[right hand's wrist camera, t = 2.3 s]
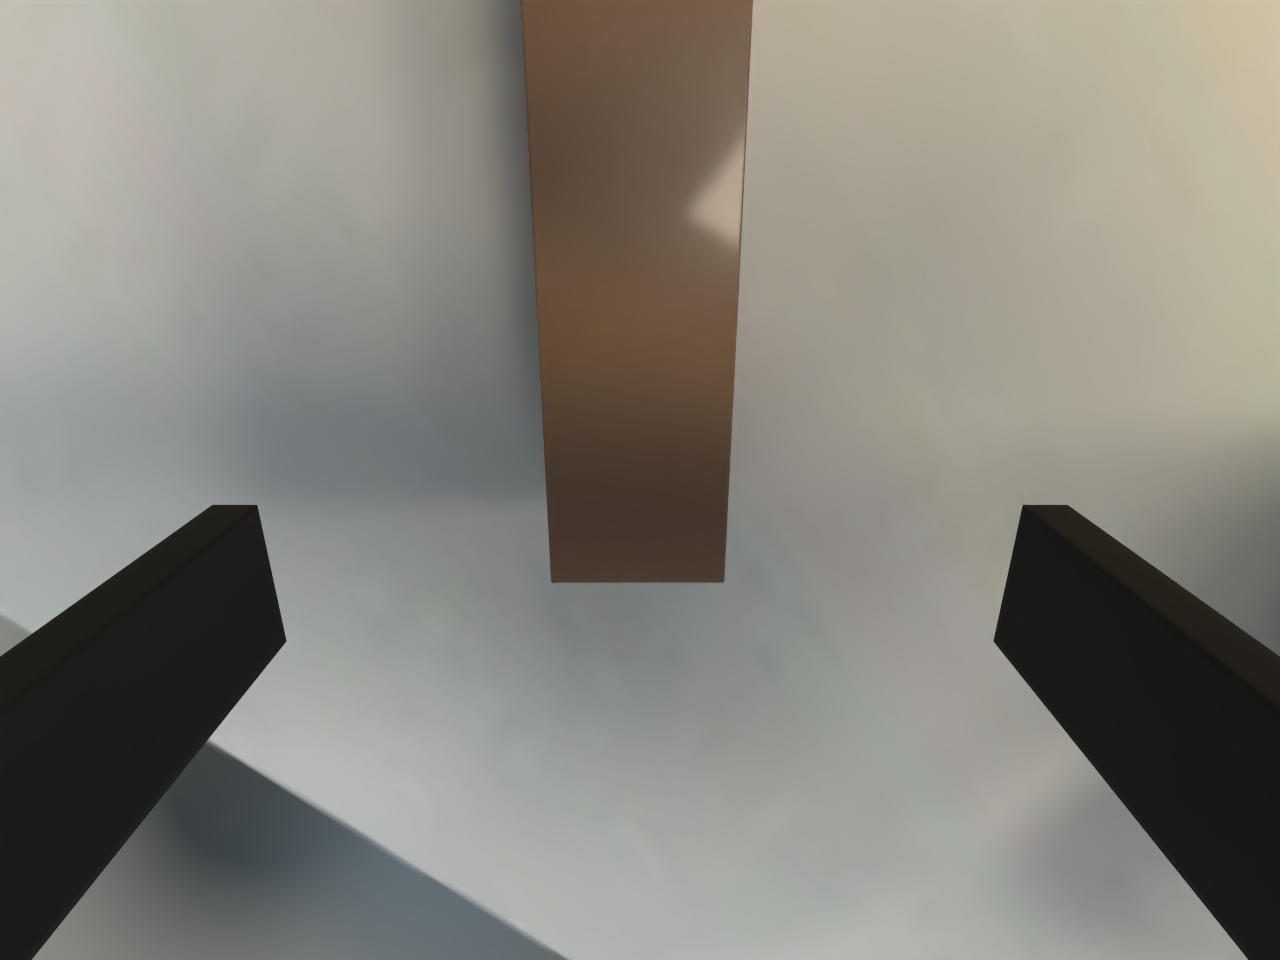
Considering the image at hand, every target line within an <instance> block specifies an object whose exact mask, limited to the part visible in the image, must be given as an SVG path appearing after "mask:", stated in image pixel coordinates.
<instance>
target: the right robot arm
mask: <svg viewBox="0 0 1280 960" xmlns="http://www.w3.org/2000/svg"><path fill="white" fill-rule="evenodd" d="M285 642H286V637H285V632H284V628H283V623H282V618H281V614H280V609H279V604H278V600H277V595H276V590H275V586H274V581H273V576H272V572H271V567H270V562H269V558H268V553H267V548H266V544H265V539H264V534H263V530H262V525H261V520H260V516H259V511H258V507H257V505H212V506H210V507H209V508H208V509H206V510H205V511H203V512H202V513H201V514H199V515H198V516H196V517H195V518H194V519H192V520H191V521H189V522H188V523H187V524H185V525H184V526H182V527H181V528H180V529H178V530H177V531H175V532H174V533H173V534H171V535H170V536H168V537H167V538H166V539H164V540H163V541H161V542H160V543H159V544H157V545H156V546H154V547H153V548H152V549H150V550H149V551H147V552H146V553H145V554H143V555H142V556H140V557H139V558H138V559H136V560H135V561H133V562H132V563H131V564H129V565H128V566H126V567H125V568H124V569H122V570H121V571H119V572H118V573H117V574H115V575H114V576H112V577H111V578H110V579H108V580H107V581H105V582H104V583H103V584H101V585H100V586H98V587H97V588H96V589H94V590H93V591H91V592H90V593H89V594H87V595H86V596H84V597H83V598H82V599H80V600H79V601H77V602H76V603H75V604H73V605H72V606H70V607H69V608H68V609H66V610H65V611H63V612H62V613H61V614H59V615H58V616H56V617H55V618H54V619H52V620H51V621H49V622H48V623H47V624H45V625H44V626H42V627H41V628H40V629H38V630H37V631H35V632H34V633H33V634H31V635H30V636H28V637H27V638H26V639H24V640H23V641H21V642H20V643H19V644H17V645H16V646H14V647H13V648H12V649H10V650H9V651H7V652H6V653H5V654H3V655H2V656H1V657H0V960H32V959H33V957H34V956H35V955H36V953H37V952H38V951H39V950H40V948H41V947H42V946H43V945H44V944H45V942H46V941H47V940H48V939H49V937H50V936H51V935H52V934H53V932H54V931H55V930H56V929H57V927H58V926H59V925H60V924H61V922H62V921H63V920H64V919H65V917H66V916H67V915H68V914H69V912H70V911H71V910H72V909H73V907H74V906H75V905H76V904H77V902H78V901H79V900H80V899H81V897H82V896H83V895H84V893H85V892H86V891H87V890H88V889H89V887H90V886H91V885H92V883H93V882H94V881H95V880H96V879H97V877H98V876H99V875H100V874H101V872H102V871H103V870H104V868H105V867H106V866H107V865H108V864H109V862H110V861H111V860H112V858H113V857H114V856H115V855H116V854H117V852H118V851H119V850H120V849H121V847H122V846H123V845H124V844H125V842H126V841H127V840H128V839H129V837H130V836H131V835H132V834H133V832H134V831H135V830H136V829H137V827H138V826H139V825H140V824H141V822H142V821H143V820H144V819H145V817H146V816H147V815H148V814H149V812H150V811H151V810H152V809H153V807H154V806H155V805H156V804H157V802H158V801H159V800H160V799H161V797H162V796H163V795H164V794H165V792H166V791H167V790H168V789H169V787H170V786H171V785H172V784H173V782H174V781H175V780H176V779H177V777H178V776H179V775H180V774H181V772H182V771H183V770H184V769H185V767H186V766H187V765H188V764H189V762H190V761H191V760H192V759H193V757H194V756H195V755H196V754H197V752H198V751H199V750H200V749H201V747H202V746H203V745H204V744H205V742H206V741H207V740H208V739H209V737H210V736H211V735H212V734H213V732H214V731H215V730H216V729H217V727H218V726H219V725H220V724H221V722H222V721H223V720H224V719H225V717H226V716H227V715H228V714H229V712H230V711H231V710H232V709H233V707H234V706H235V705H236V704H237V702H238V701H239V700H240V699H241V697H242V696H243V695H244V694H245V692H246V691H247V690H248V689H249V687H250V686H251V685H252V684H253V682H254V681H255V680H256V679H257V677H258V676H259V675H260V674H261V672H262V671H263V670H264V669H265V667H266V666H267V665H268V664H269V662H270V661H271V660H272V659H273V657H274V656H275V655H276V654H277V652H278V651H279V650H280V649H281V647H282V646H283V645H284V644H285ZM994 642H995V644H996V645H997V646H998V647H999V649H1000V650H1001V651H1002V652H1003V654H1004V655H1005V656H1006V657H1007V659H1008V660H1009V661H1010V662H1011V664H1012V665H1013V666H1014V667H1015V669H1016V670H1017V671H1018V672H1019V674H1020V675H1021V676H1022V677H1023V679H1024V680H1025V681H1026V682H1027V684H1028V685H1029V686H1030V687H1031V689H1032V690H1033V691H1034V692H1035V694H1036V695H1037V696H1038V697H1039V699H1040V700H1041V701H1042V702H1043V704H1044V705H1045V706H1046V707H1047V709H1048V710H1049V711H1050V712H1051V714H1052V715H1053V716H1054V717H1055V719H1056V720H1057V721H1058V722H1059V724H1060V725H1061V726H1062V727H1063V729H1064V730H1065V731H1066V732H1067V734H1068V735H1069V736H1070V737H1071V739H1072V740H1073V741H1074V742H1075V744H1076V745H1077V746H1078V747H1079V749H1080V750H1081V751H1082V752H1083V754H1084V755H1085V756H1086V757H1087V759H1088V760H1089V761H1090V762H1091V764H1092V765H1093V766H1094V767H1095V769H1096V770H1097V771H1098V772H1099V774H1100V775H1101V776H1102V777H1103V779H1104V780H1105V781H1106V782H1107V784H1108V785H1109V786H1110V787H1111V789H1112V790H1113V791H1114V792H1115V794H1116V795H1117V796H1118V797H1119V799H1120V800H1121V801H1122V802H1123V804H1124V805H1125V806H1126V807H1127V809H1128V810H1129V811H1130V812H1131V814H1132V815H1133V816H1134V817H1135V819H1136V820H1137V821H1138V822H1139V824H1140V825H1141V826H1142V827H1143V829H1144V830H1145V831H1146V832H1147V834H1148V835H1149V836H1150V837H1151V839H1152V840H1153V841H1154V842H1155V844H1156V845H1157V846H1158V847H1159V849H1160V850H1161V851H1162V852H1163V854H1164V855H1165V856H1166V857H1167V859H1168V860H1169V861H1170V862H1171V864H1172V865H1173V866H1174V867H1175V869H1176V870H1177V871H1178V872H1179V874H1180V875H1181V876H1182V877H1183V879H1184V880H1185V881H1186V882H1187V884H1188V885H1189V886H1190V887H1191V889H1192V890H1193V891H1194V892H1195V894H1196V895H1197V896H1198V897H1199V899H1200V900H1201V901H1202V902H1203V904H1204V905H1205V906H1206V907H1207V909H1208V910H1209V911H1210V912H1211V914H1212V915H1213V916H1214V917H1215V919H1216V920H1217V921H1218V922H1219V924H1220V925H1221V926H1222V927H1223V929H1224V930H1225V931H1226V932H1227V934H1228V935H1229V936H1230V937H1231V939H1232V940H1233V941H1234V942H1235V944H1236V945H1237V946H1238V947H1239V949H1240V950H1241V951H1242V952H1243V954H1244V955H1245V956H1246V957H1247V959H1248V960H1280V656H1278V655H1277V654H1275V653H1274V652H1273V651H1271V650H1270V649H1268V648H1267V647H1266V646H1264V645H1263V644H1261V643H1260V642H1259V641H1257V640H1256V639H1254V638H1253V637H1252V636H1250V635H1249V634H1247V633H1246V632H1245V631H1243V630H1242V629H1240V628H1239V627H1238V626H1236V625H1235V624H1233V623H1232V622H1231V621H1229V620H1228V619H1226V618H1225V617H1224V616H1222V615H1221V614H1219V613H1218V612H1217V611H1215V610H1214V609H1212V608H1211V607H1210V606H1208V605H1207V604H1205V603H1204V602H1203V601H1201V600H1200V599H1198V598H1197V597H1196V596H1194V595H1193V594H1191V593H1190V592H1189V591H1187V590H1186V589H1184V588H1183V587H1182V586H1180V585H1179V584H1177V583H1176V582H1175V581H1173V580H1172V579H1170V578H1169V577H1168V576H1166V575H1165V574H1163V573H1162V572H1161V571H1159V570H1158V569H1156V568H1155V567H1154V566H1152V565H1151V564H1149V563H1148V562H1147V561H1145V560H1144V559H1142V558H1141V557H1140V556H1138V555H1137V554H1135V553H1134V552H1133V551H1131V550H1130V549H1128V548H1127V547H1126V546H1124V545H1123V544H1121V543H1120V542H1119V541H1117V540H1116V539H1114V538H1113V537H1112V536H1110V535H1109V534H1107V533H1106V532H1105V531H1103V530H1102V529H1100V528H1099V527H1098V526H1096V525H1095V524H1093V523H1092V522H1091V521H1089V520H1088V519H1086V518H1085V517H1084V516H1082V515H1081V514H1079V513H1078V512H1077V511H1075V510H1074V509H1072V508H1071V507H1070V506H1068V505H1023V507H1022V511H1021V516H1020V520H1019V525H1018V530H1017V534H1016V539H1015V544H1014V548H1013V553H1012V558H1011V562H1010V567H1009V572H1008V576H1007V581H1006V586H1005V590H1004V595H1003V600H1002V604H1001V609H1000V614H999V618H998V623H997V628H996V632H995V637H994Z"/></svg>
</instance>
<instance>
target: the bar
mask: <svg viewBox="0 0 1280 960" xmlns="http://www.w3.org/2000/svg"><path fill="white" fill-rule="evenodd" d="M752 7H753V0H521V13H522V32H523V52H524V71H525V90H526V109H527V128H528V148H529V167H530V186H531V205H532V224H533V244H534V263H535V282H536V301H537V320H538V340H539V359H540V378H541V397H542V416H543V436H544V455H545V474H546V493H547V512H548V532H549V551H550V570H551V582H552V583H723V582H724V575H725V555H726V534H727V514H728V494H729V474H730V453H731V433H732V413H733V393H734V372H735V352H736V332H737V311H738V291H739V271H740V251H741V230H742V210H743V190H744V170H745V149H746V129H747V109H748V89H749V68H750V48H751V28H752Z"/></svg>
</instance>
